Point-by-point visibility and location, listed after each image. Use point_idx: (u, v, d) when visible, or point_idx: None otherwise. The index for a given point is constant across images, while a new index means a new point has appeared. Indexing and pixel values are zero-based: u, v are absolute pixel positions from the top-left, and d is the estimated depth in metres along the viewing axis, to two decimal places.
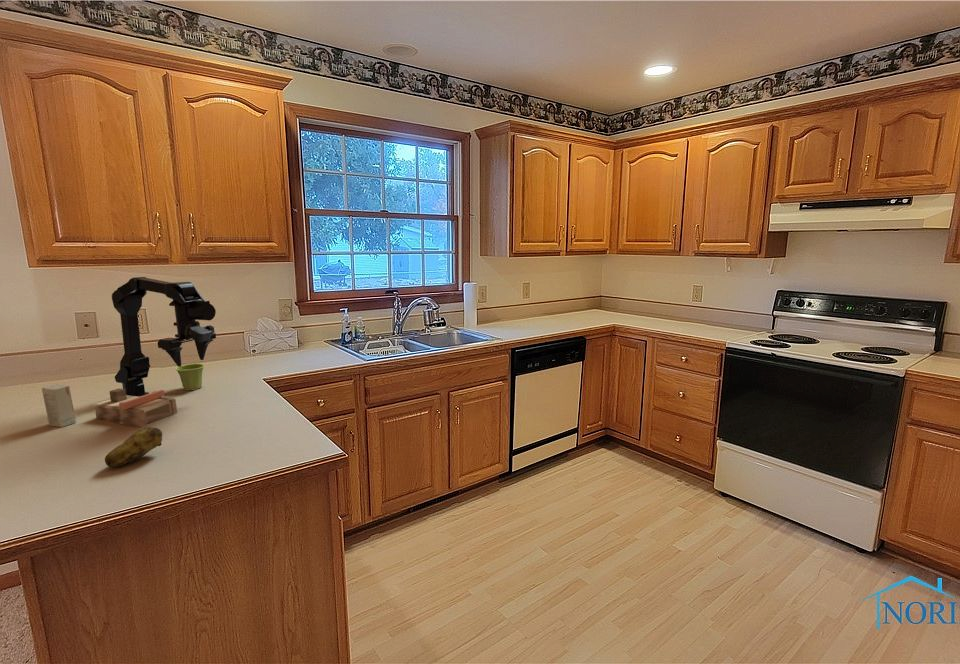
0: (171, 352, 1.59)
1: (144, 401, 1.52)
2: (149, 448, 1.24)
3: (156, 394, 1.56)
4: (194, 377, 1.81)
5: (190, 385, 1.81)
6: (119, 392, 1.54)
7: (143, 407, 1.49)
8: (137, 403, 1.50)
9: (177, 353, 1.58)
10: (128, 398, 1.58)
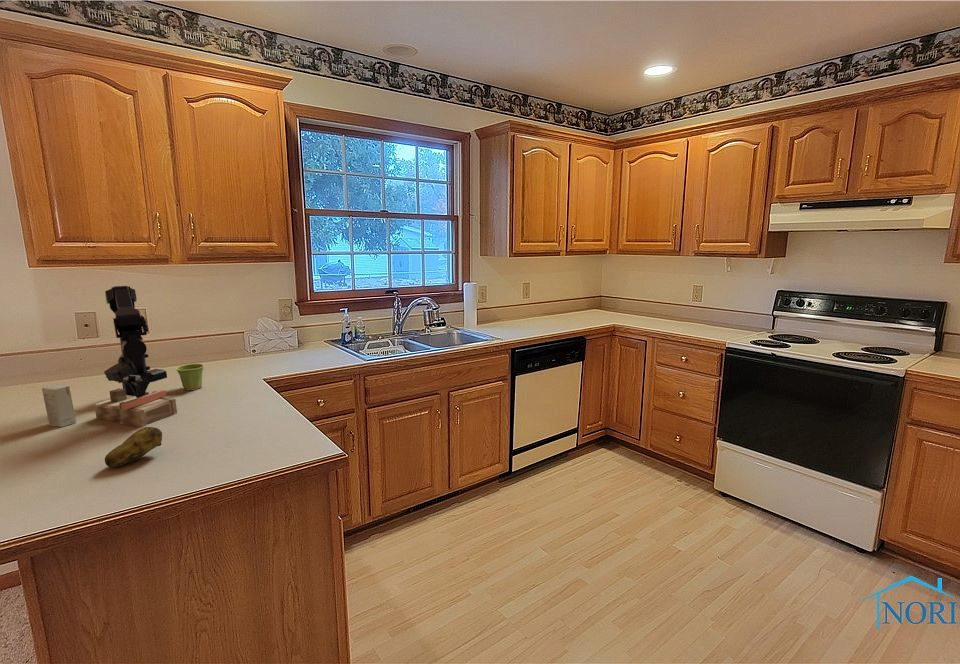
0: None
1: (145, 401, 1.52)
2: (149, 448, 1.24)
3: (157, 394, 1.56)
4: (194, 377, 1.81)
5: (190, 385, 1.81)
6: (119, 392, 1.54)
7: (143, 407, 1.49)
8: (138, 403, 1.50)
9: (129, 385, 1.51)
10: (128, 398, 1.58)
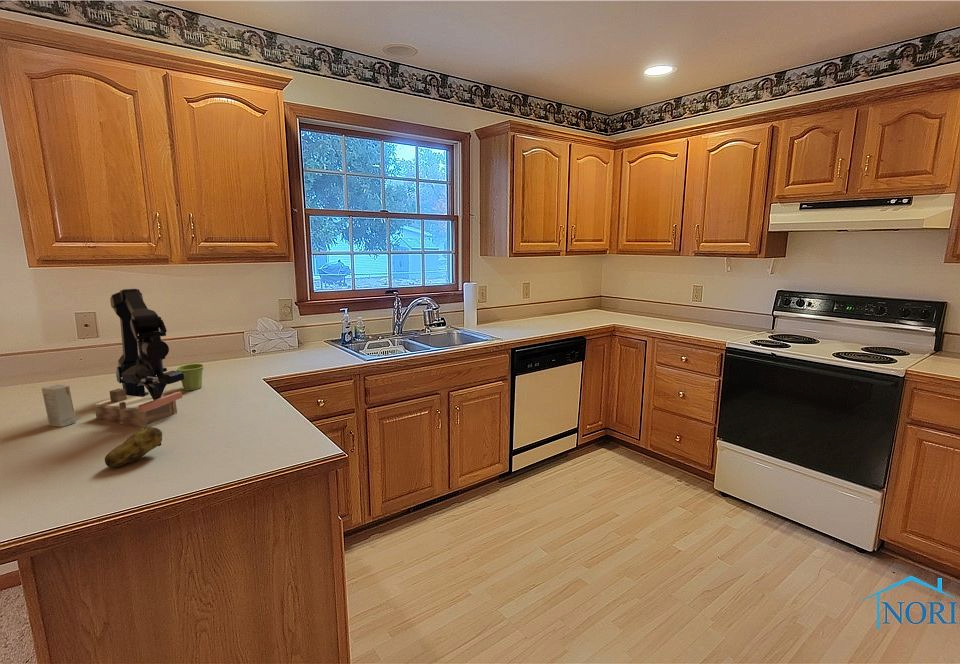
0: None
1: (162, 403, 1.51)
2: (149, 448, 1.24)
3: (174, 396, 1.55)
4: (194, 377, 1.81)
5: (190, 385, 1.81)
6: (119, 392, 1.54)
7: None
8: (155, 405, 1.48)
9: (146, 387, 1.49)
10: (128, 398, 1.58)
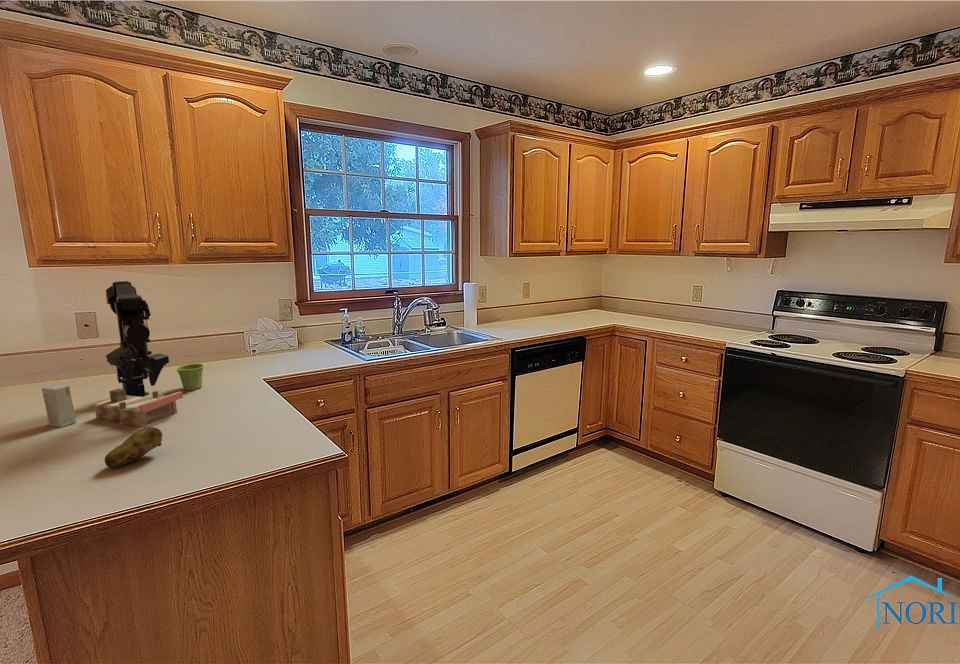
0: None
1: (162, 403, 1.51)
2: (149, 448, 1.24)
3: (174, 396, 1.55)
4: (194, 377, 1.81)
5: (190, 385, 1.81)
6: (119, 392, 1.54)
7: None
8: (156, 405, 1.48)
9: (120, 368, 1.51)
10: (128, 398, 1.58)
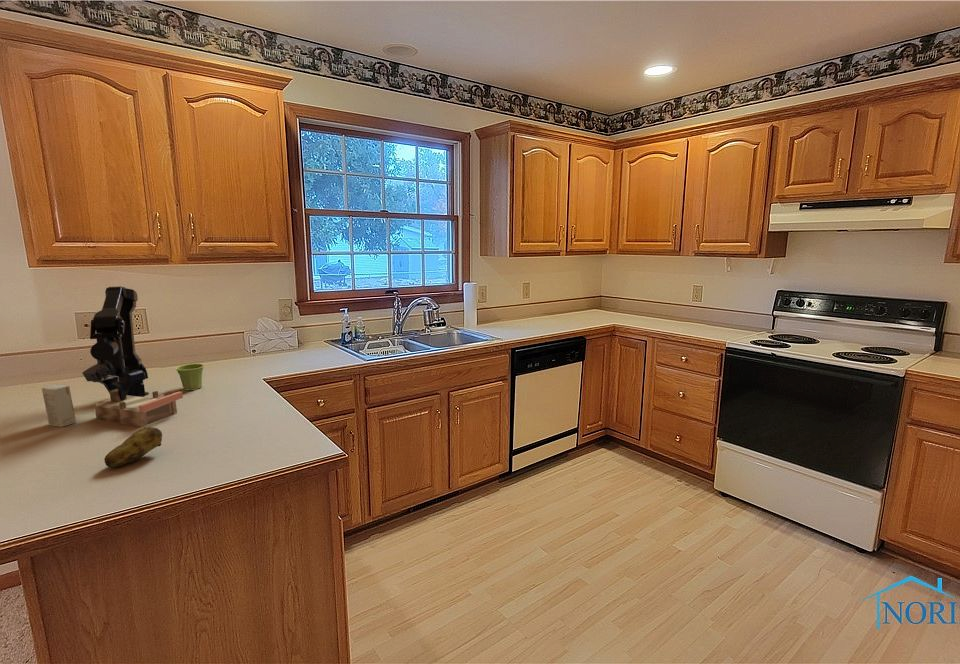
0: None
1: (162, 403, 1.51)
2: (149, 448, 1.24)
3: (174, 396, 1.55)
4: (194, 377, 1.81)
5: (190, 385, 1.81)
6: None
7: None
8: (156, 405, 1.48)
9: (105, 385, 1.54)
10: (128, 398, 1.58)
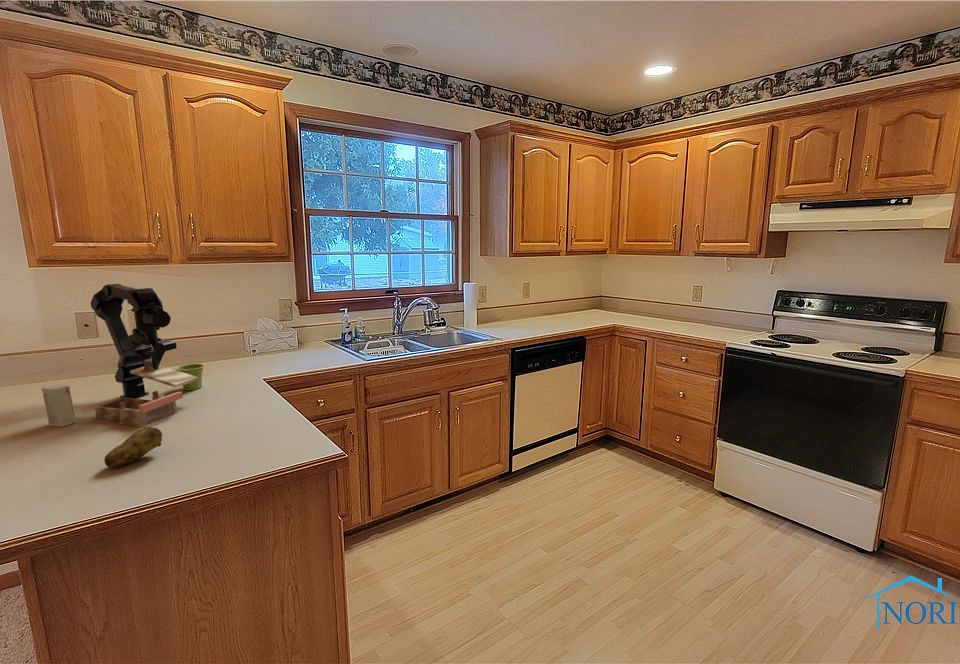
0: None
1: (162, 403, 1.51)
2: (149, 448, 1.24)
3: (174, 396, 1.55)
4: None
5: (190, 385, 1.81)
6: None
7: (175, 382, 1.61)
8: (156, 405, 1.48)
9: (138, 355, 1.65)
10: (159, 368, 1.69)
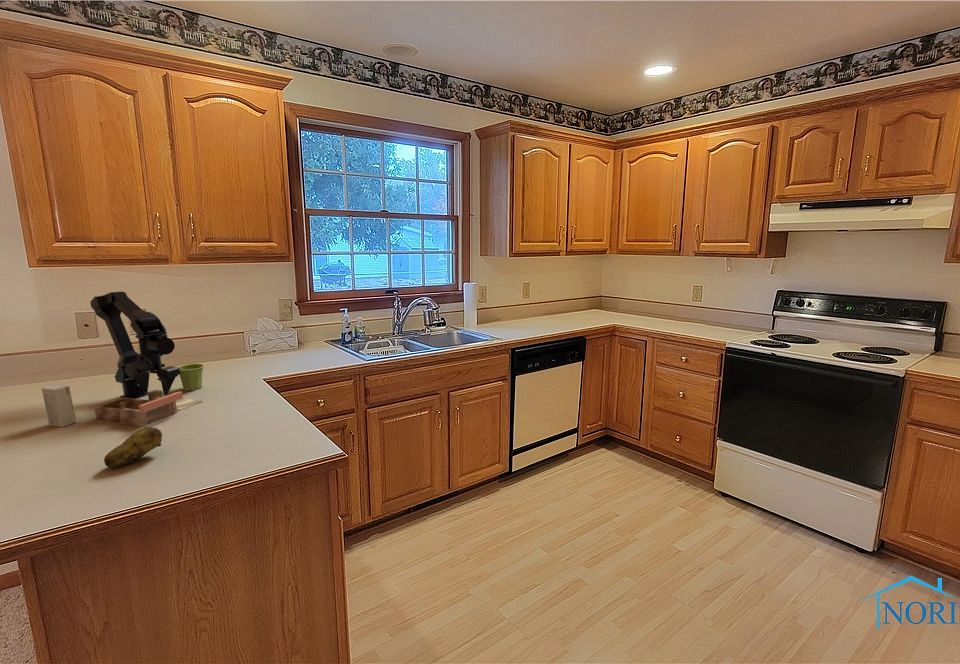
0: None
1: (162, 403, 1.51)
2: (148, 448, 1.24)
3: (174, 396, 1.55)
4: (194, 377, 1.81)
5: (190, 385, 1.81)
6: None
7: (179, 407, 1.63)
8: (156, 405, 1.48)
9: (136, 380, 1.68)
10: None
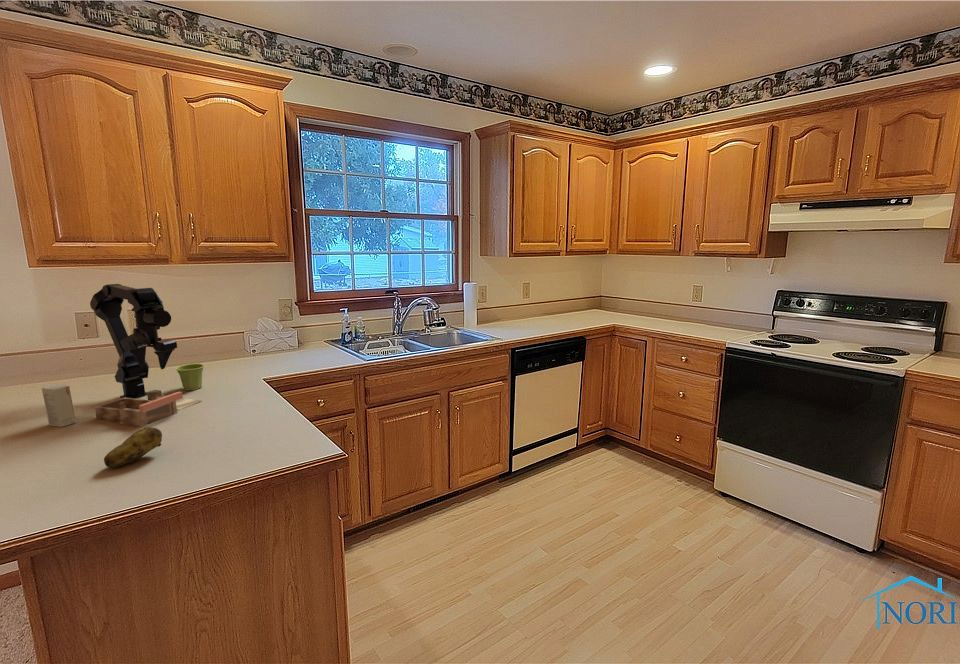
0: None
1: (162, 403, 1.51)
2: (148, 449, 1.24)
3: (174, 396, 1.55)
4: (194, 377, 1.81)
5: (190, 385, 1.81)
6: None
7: (179, 407, 1.63)
8: (156, 405, 1.48)
9: (133, 354, 1.66)
10: None
